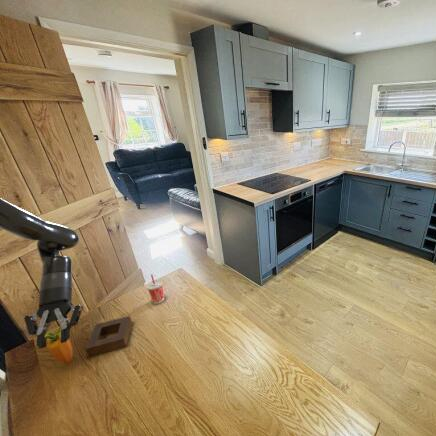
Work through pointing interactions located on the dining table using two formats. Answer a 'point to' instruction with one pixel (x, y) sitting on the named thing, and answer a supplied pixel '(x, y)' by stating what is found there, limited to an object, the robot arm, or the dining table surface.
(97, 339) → the socket block
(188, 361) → the dining table surface
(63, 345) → the carrot
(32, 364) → the dining table surface
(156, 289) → the beverage cup
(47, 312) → the robot arm
